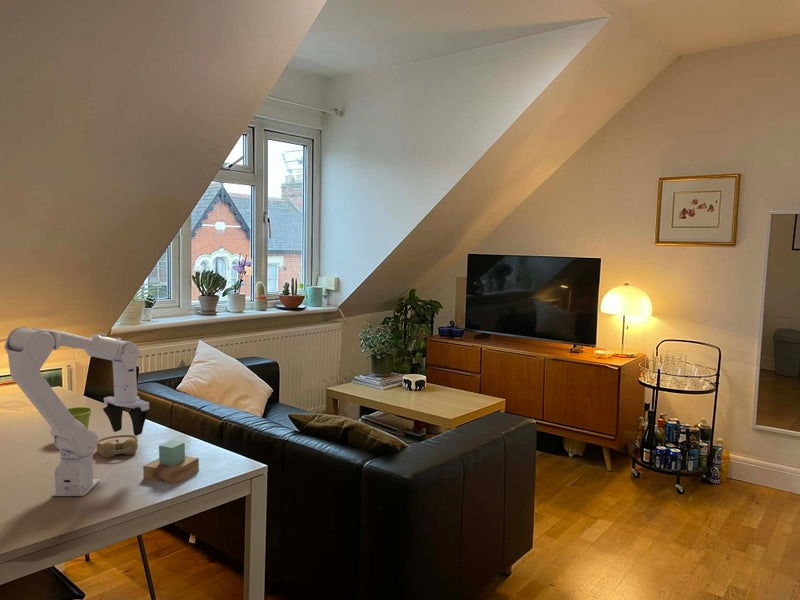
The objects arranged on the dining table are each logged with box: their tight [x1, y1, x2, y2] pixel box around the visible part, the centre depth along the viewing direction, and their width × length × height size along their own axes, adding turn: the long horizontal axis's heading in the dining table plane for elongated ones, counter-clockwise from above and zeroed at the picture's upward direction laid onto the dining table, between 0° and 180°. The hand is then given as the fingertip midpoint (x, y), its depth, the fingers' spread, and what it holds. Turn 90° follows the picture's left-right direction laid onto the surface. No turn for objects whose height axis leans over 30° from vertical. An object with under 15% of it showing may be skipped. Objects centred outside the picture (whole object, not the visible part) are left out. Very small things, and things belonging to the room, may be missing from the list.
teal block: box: [158, 440, 186, 466], centre depth 167 cm, size 5×5×5 cm
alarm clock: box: [96, 434, 139, 459], centre depth 184 cm, size 11×5×15 cm
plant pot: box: [67, 406, 93, 430], centre depth 196 cm, size 9×9×9 cm
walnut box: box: [142, 455, 200, 485], centre depth 167 cm, size 10×10×4 cm
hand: (127, 432), depth 170 cm, fingers open, 7 cm apart
